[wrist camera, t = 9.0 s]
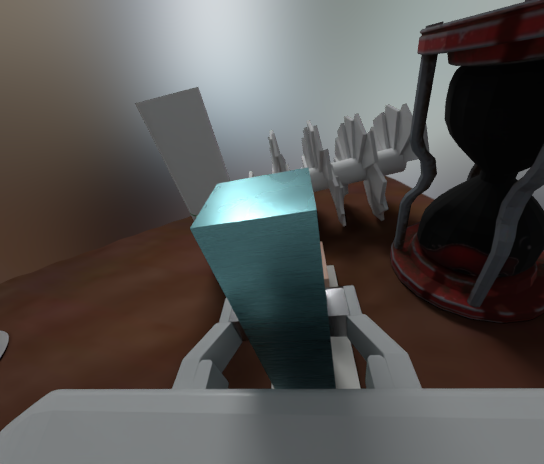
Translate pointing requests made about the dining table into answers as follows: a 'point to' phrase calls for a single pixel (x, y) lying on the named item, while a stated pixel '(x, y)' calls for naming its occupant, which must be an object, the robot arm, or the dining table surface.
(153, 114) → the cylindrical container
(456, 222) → the hourglass
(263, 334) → the teal oblong box
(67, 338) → the dining table surface
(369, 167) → the spiral staircase
